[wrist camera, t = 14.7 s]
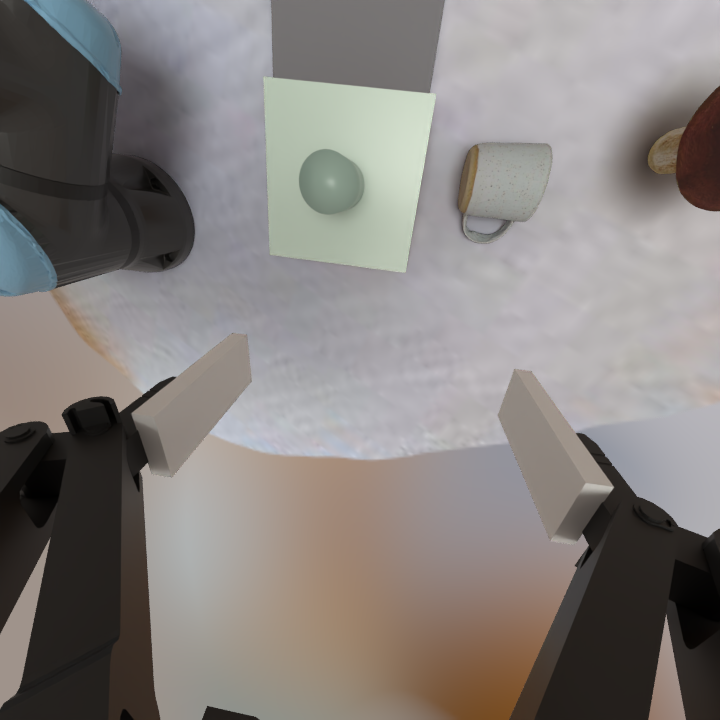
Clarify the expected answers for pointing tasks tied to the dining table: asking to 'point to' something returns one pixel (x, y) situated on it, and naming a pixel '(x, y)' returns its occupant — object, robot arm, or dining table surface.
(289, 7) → the mat
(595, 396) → the dining table surface
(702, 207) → the decorative mushroom
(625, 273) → the dining table surface
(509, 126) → the dining table surface
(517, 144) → the ceramic mug
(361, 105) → the lid
